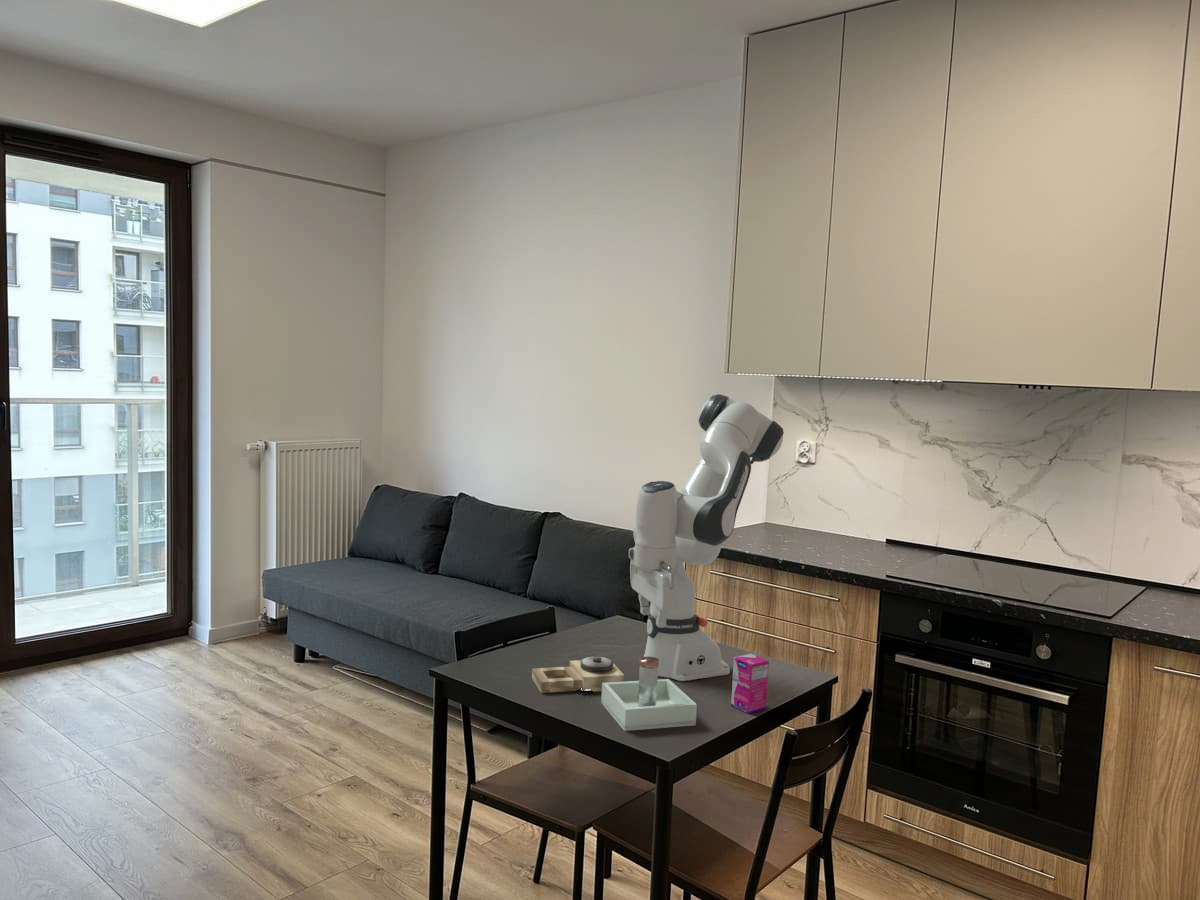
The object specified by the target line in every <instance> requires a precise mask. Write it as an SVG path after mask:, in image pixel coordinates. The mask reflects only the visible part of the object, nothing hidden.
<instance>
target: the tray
mask: <svg viewBox="0 0 1200 900" xmlns="http://www.w3.org/2000/svg"><path fill="white" fill-rule="evenodd" d="M638 690H639V680H633V681H632V680H630V681H629V680H627V681H624V682H611V683H602V691H601V698H600V700H601V702H600V703H601V705H602V706H604V708H605V709H606V710H607V712H608V713H609V714H610V716H611V717H612V718H613V719H614V721H616V723H618V725H619V726H620V727H621V728H622V730H623V731H624V732H628V731H639V730H653V729H664V728H674V727H675V728H677V727H689V726H690V727H691V726H696V724H697V712H698V711H697V709H698V707H697V706H698V704H697V703H696V702H695V701H694V700H693V699H691V698H690V697H689V696H688V695H687V694H686V693H685V692H684V691H682V690H681V689H680V687H678V686H677V685H676V684H675V683H674V682H673V681H671V679H670V678H663V679H658V680H657V698H656V706H644V707H638Z"/></svg>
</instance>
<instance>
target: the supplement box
mask: <svg viewBox="0 0 1200 900" xmlns="http://www.w3.org/2000/svg"><path fill="white" fill-rule="evenodd" d="M769 665H770V661H769V660H768V659H765V658H763V657H761V656H758V655H757V654H756V655H755V654H753V653H747V654H744V655H738V656H734V657H733V665H732V666H733V668H732V669H733V671H732V683H731V685H732V686H731V688H732V689H731V701H730V702H731V703H730V705H731V707H734V708H737V709H739V710H741V711H742V712H744V713H746V714H748V715H750V714H754V713H758V712H762V711H766V710H767V703H768V702H767V699H768V685H769V684H768V683H769V682H768V681H769V667H770V666H769Z"/></svg>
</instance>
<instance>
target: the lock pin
mask: <svg viewBox="0 0 1200 900" xmlns="http://www.w3.org/2000/svg"><path fill="white" fill-rule="evenodd" d="M638 662H639V673H638V674H639V675H638V681H639V690H638V707H644V706H656V698H657V680H659V679H658V677H659V676H658V666H659V659H657V658H655V657H644V656H641V657H639V661H638Z"/></svg>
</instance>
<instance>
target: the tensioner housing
mask: <svg viewBox="0 0 1200 900" xmlns="http://www.w3.org/2000/svg"><path fill="white" fill-rule="evenodd" d="M625 677H626V675H625V673H624V672H622V671H621V670H620V669H619V668H618V667H617V665H616V664H615V663H614V661H612V660H611V659H610V658H607V657H603V656H588V657H584V658H582V659H580V660H579V659H578V660H576V659H575V660H569V666H556V667H555V666H554V667H537V668H534V667H533V668H531V680H532V681H533V683H534V684H535V685H536V687H537V689H538V690H539V692H540V693H541V694H544V693H545V694H548V693H559V692H561V693H562V692H564V693H565V692H575V691H576V692H577V690H579V689H580V688H582V690H583V691H584V690H585V689H591V690H592V691H593V692H602V683H611V682H625ZM582 690H581V691H582ZM579 691H580V690H579Z"/></svg>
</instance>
